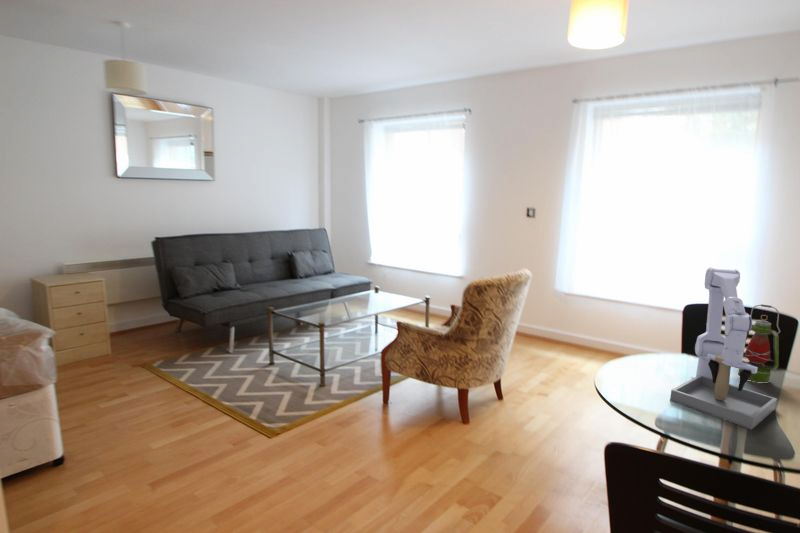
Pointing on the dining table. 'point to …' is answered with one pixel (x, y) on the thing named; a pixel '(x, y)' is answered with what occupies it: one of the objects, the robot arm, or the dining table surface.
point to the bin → (724, 402)
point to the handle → (722, 379)
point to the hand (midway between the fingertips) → (727, 386)
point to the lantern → (762, 349)
